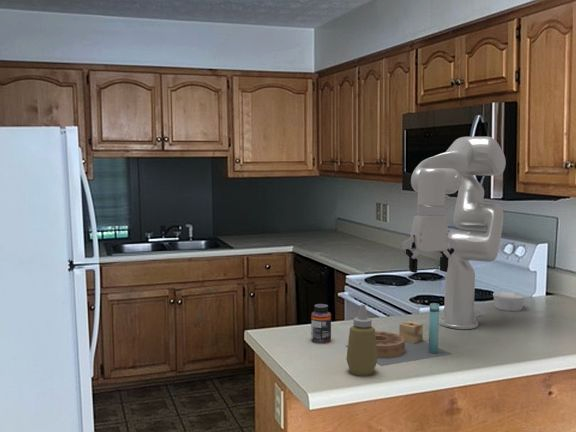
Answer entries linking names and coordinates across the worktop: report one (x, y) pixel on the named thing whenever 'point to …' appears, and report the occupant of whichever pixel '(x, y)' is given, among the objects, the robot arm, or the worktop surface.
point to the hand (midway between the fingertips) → (428, 271)
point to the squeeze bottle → (362, 345)
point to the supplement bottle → (321, 324)
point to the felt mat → (412, 354)
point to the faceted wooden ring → (389, 344)
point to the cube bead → (411, 332)
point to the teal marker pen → (433, 328)
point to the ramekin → (508, 300)
